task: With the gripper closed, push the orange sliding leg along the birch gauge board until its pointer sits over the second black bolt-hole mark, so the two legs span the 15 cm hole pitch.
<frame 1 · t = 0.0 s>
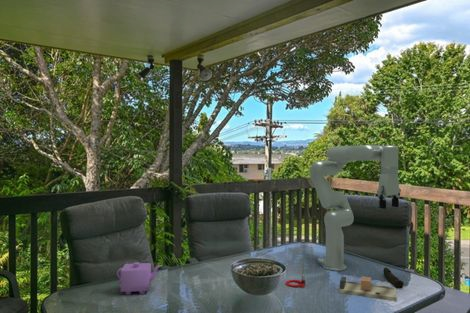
hand: (389, 207, 168), 37 cm above the table, tool pointing down, fingers open, 9 cm apart
gauge board: (367, 291, 161), on the table
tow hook: (295, 285, 170), on the table
hand tool: (390, 282, 175), on the table
teapot: (139, 290, 161), on the table
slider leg: (365, 283, 161), point 4 cm above the table, slide at 0.0 cm
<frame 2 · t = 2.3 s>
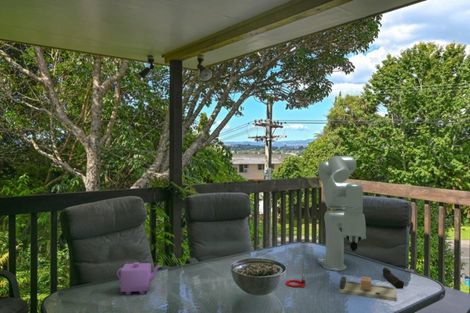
hand: (353, 250, 163), 18 cm above the table, tool pointing down, fingers closed
nothing on the table moved.
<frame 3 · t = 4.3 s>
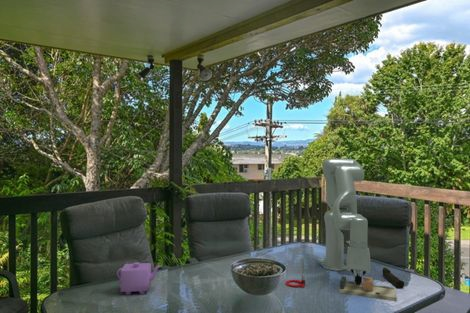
hand: (358, 284, 163), 3 cm above the table, tool pointing down, fingers closed
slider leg: (367, 284, 160), point 4 cm above the table, slide at 0.9 cm, touching gripper
everything else where it was.
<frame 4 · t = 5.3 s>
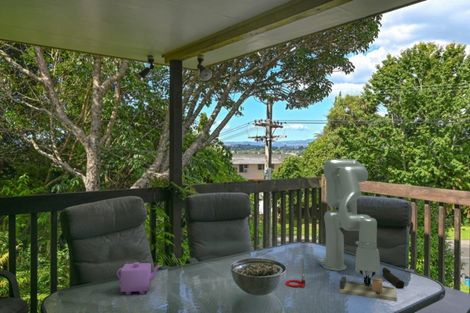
hand: (367, 285, 161), 3 cm above the table, tool pointing down, fingers closed
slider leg: (377, 285, 159), point 4 cm above the table, slide at 4.8 cm, touching gripper
everything else where it was.
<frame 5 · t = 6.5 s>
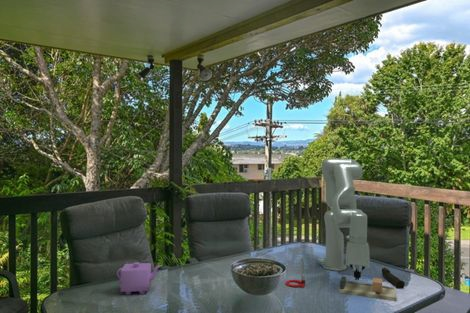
hand: (357, 279, 164), 5 cm above the table, tool pointing down, fingers closed
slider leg: (377, 285, 159), point 4 cm above the table, slide at 4.8 cm
everything else where it was.
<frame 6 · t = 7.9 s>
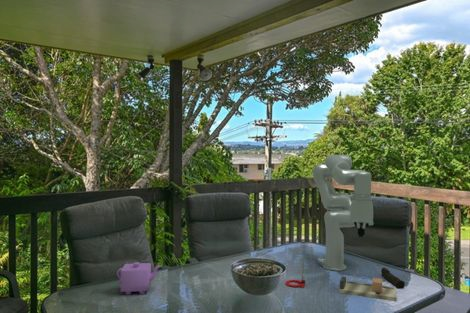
hand: (361, 236, 168), 24 cm above the table, tool pointing down, fingers closed
nothing on the table moved.
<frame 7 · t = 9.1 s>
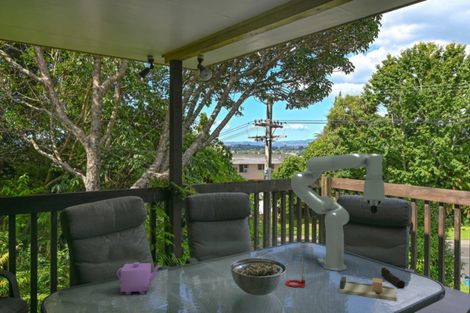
hand: (373, 213, 183), 32 cm above the table, tool pointing down, fingers closed
nothing on the table moved.
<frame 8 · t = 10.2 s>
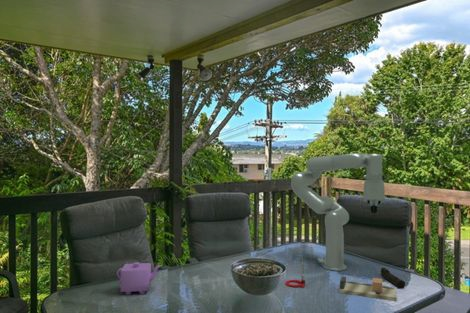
hand: (373, 213, 183), 32 cm above the table, tool pointing down, fingers closed
nothing on the table moved.
at the end: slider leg slide at 4.8 cm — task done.
